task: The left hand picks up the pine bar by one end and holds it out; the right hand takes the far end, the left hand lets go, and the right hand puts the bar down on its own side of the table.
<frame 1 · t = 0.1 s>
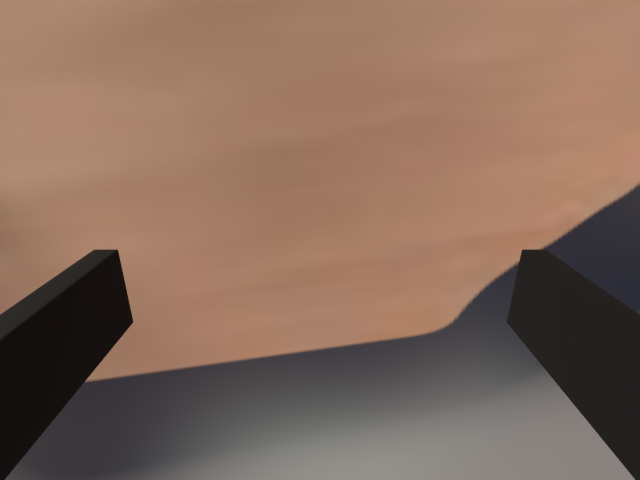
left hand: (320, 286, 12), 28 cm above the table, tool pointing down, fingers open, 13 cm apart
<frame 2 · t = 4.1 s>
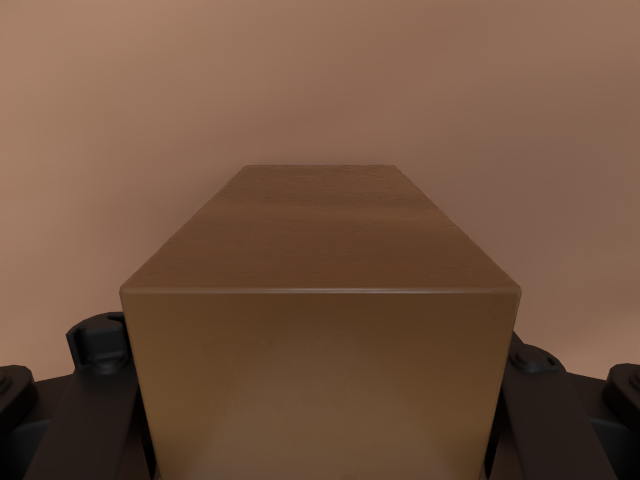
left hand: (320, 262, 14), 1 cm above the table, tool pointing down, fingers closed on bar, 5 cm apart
bar: (320, 412, 18), on the table, touching left hand
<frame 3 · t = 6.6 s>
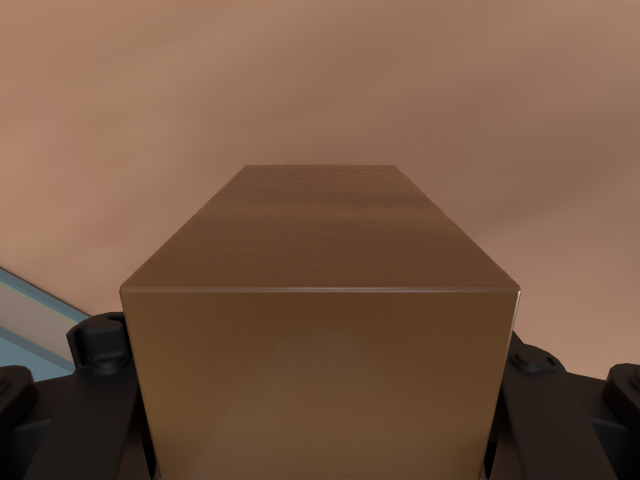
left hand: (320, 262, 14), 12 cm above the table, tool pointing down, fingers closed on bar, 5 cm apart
book: (63, 387, 32), on the table
bar: (320, 412, 18), point 12 cm above the table, touching left hand
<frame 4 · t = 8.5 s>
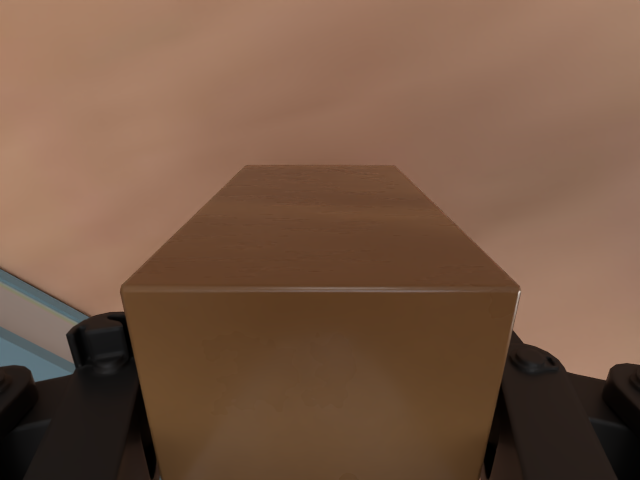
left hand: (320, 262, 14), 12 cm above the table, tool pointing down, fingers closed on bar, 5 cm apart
book: (63, 387, 32), on the table
bar: (319, 412, 18), point 12 cm above the table, touching left hand, right hand
when the left hand's fingers open (12 cm above the table, at t = 9.5 s): bar stays where it is, held by the right hand.
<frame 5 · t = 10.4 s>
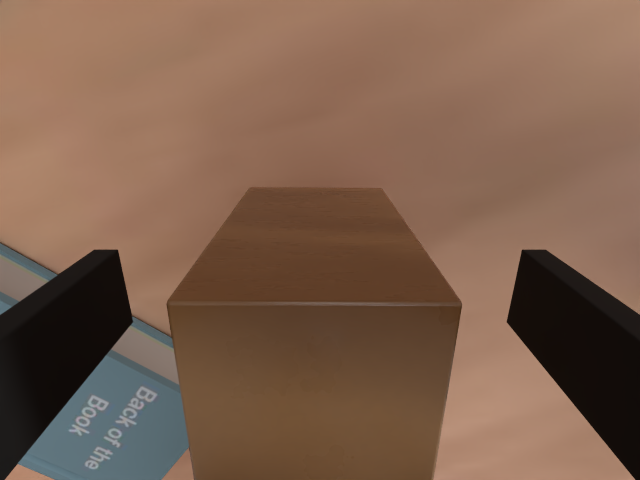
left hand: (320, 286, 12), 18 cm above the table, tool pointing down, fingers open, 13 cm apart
book: (82, 367, 35), on the table
bar: (314, 407, 19), point 14 cm above the table, touching right hand
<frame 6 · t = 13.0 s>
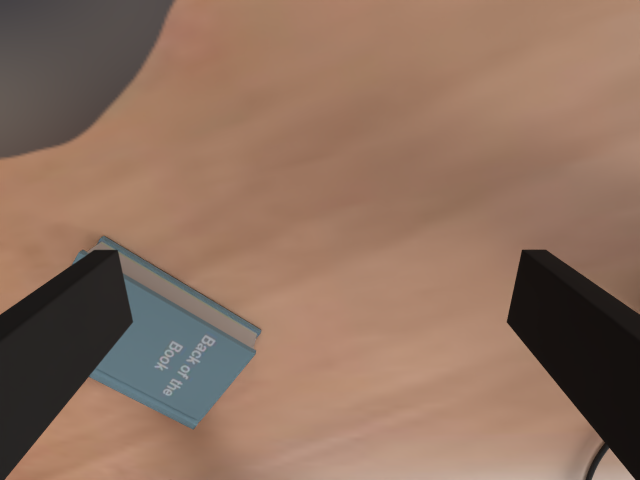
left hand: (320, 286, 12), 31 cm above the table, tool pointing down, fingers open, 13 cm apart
book: (157, 327, 50), on the table
when the right hand's fingers open (5 cm above the table, at t = 17.7 s): bar stays where it is, on the table.
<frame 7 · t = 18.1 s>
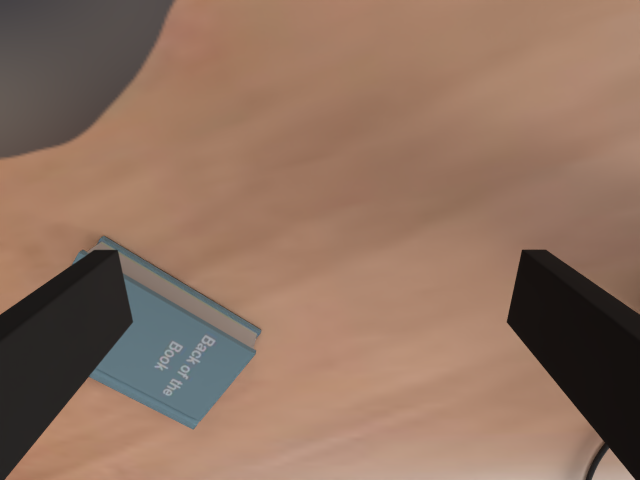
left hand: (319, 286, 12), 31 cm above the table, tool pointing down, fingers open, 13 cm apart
book: (157, 327, 50), on the table
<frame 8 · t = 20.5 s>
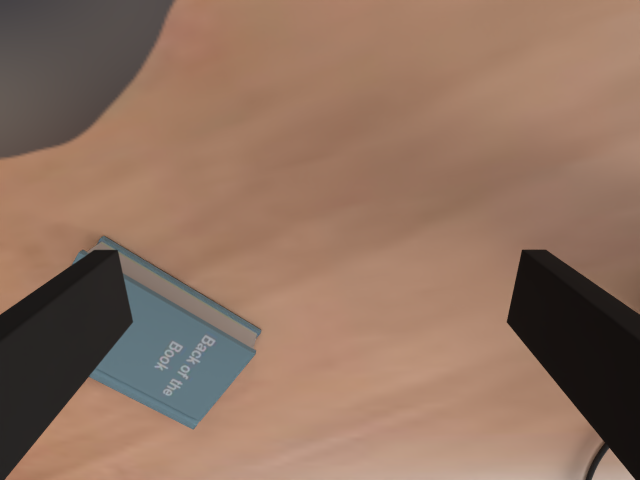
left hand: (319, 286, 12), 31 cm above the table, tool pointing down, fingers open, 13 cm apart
book: (157, 327, 50), on the table
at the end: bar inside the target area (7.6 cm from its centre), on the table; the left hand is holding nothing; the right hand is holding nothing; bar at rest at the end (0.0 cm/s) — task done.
